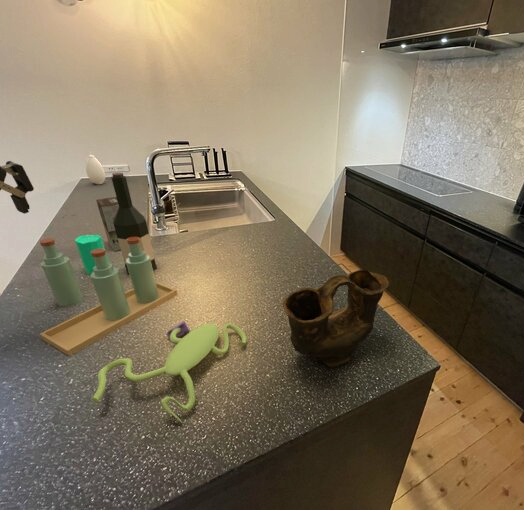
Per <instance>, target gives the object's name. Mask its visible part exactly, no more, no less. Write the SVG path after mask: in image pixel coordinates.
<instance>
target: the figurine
mask: <svg viewBox="0 0 524 510" xmlns="http://www.w3.org/2000/svg"><path fill="white" fill-rule="evenodd" d="M227 329H230V330H233V331H234V332H235V333H237V334H238V336H239V337H240V339H241V341H239V342H238V346H239V347H244V346H245V345H246V344H247V341H248V340H247V339H248V338H247V335H246V333H245V332H244V330H243V329H241V328H240V327H239V326H238V325H236V324H234V323H226V324H225V325H223V327H222V336H223V348H222V349H221V348H219V347H217V346H215V345H216V343H217V341H218V339H219V335H220V329H219V326H218V325H217V324H215V323H211V322H209V323H205V324H202V325H201V324H200V326H197V327H195V328H194V329H192V330H191V331H190V328H189V327H188V325H187V323H186V321H185V320H183V321H181V322H180V323H178V324H177V325H175V326H174V327H173V328H171V329H170V330H167V332H166V333H165V334H166V336H167V337H168V339H169V340H170V341H171V342H172V343H174V344H175V345H174V347H173V348H172V350H171V351H170V353H169V354H168V355H167V357H166V360H165V363H164V366H162V367H160V368H157V369H154V370H151V371H149V372H145V373H142V374H141V373H140V374H135V373H133V372H132V369H133V364H134V363H133V359H131V358H129V357H124V358H119V359H115V360H113V361H112V362H109V363H108V364H106V365H104V366H103V367H102V368H101V369H100V370H99V371H98V374H97V381H98V385H97V389H96V391H95V393H94V395H93V396H92V397H91V399H92V401H93V402H94V403H95V404H98V403H99V402H100V400H101V399H102V397H103V395H104V393H105V391H106V386H107V373H108V372H109V371H111V370H113V369H114V368H116V367H119V366H124V365H125V368H124V377H125V379H127V380H129V381H131V382H135V383H139V382H144V381H147V380H150V379H154V378H156V377H159V376H161V375H164V374H167V375H169V376H179V375H180V376H181V378H182V379H183V381H184V383H185V387H186V391H187V395H188V402H187V403H186V404H182V403H181V402H179V400H177V399H175V398H174V397H171V396H168V395H166V396H165V397H163V399H161V400H160V403H161V406H162V408H163V409H164V410H165V411H166V412H167V413H169V414H170V415H172V416H173V417H175V418H176V419H177V420H179V422H180V423H181V424H183V421H182V420H181V418H179V417H178V415H177V414H176V413H175V412H174V411H173V410H172V409H171V408H170V405H169V403H170V402H171V401H172V402H174V403H175V404H177V406H178V407H179V408H180V409H181V410H182V411H185V412H190V411H191V410H192V409H193V408H194V407H195V403H196V391H195V386H194V382H193V380H192V377H191V376H190V374H189V370H191V369H192V368H194V367H196V366H197V365H198V364H199V363H201V361H202V360H203V359H205V357H206V356H207V355H208V354H209V353H210V352H212V353H213V354H215V355H218V356H222V355H223V356H224V355H225V354H226V353H227V351H228V349H229V346H230V338H229V334H228V331H227ZM183 335H184V336H183ZM181 336H183V338H180V337H181Z"/></svg>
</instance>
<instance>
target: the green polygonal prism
mask: <svg viewBox="0 0 524 510" xmlns="http://www.w3.org/2000/svg"><path fill="white" fill-rule="evenodd" d="M74 242H75V244H76V248H77V250H78V253H79V256H80V259H81V262H82V265H83V267H84V270H85V273H87V274H88V275H91V273H92V272H94V271H93V268H94V267H95V266H96V264H95V261H94V258H93V257H92V256H91V253H90V252H91V251H92V250H94V249H100V248H102V249H105V245H104V242H103V239H102V236H101V235H99V234H88V233H86V234H85V235H80V236H78V237H76V239H75V240H74ZM105 250H106V249H105ZM105 255H106V259H107V262H108V263H110V261H109V258H108V255H107V253H106V254H105Z"/></svg>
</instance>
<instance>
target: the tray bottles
mask: <svg viewBox="0 0 524 510" xmlns="http://www.w3.org/2000/svg"><path fill="white" fill-rule="evenodd" d="M139 242H140V240H139V237H130V238H127V243H128V244H129V247H130V251H131V253H129V254H128V257H129V258H127V259H126V264H127V268H128V271H129V275H128V276H129V279H130V283H131V285H132V289H134V293H135V297H136V300H137V302H138V303H142V304H145V303H150V302H153V301H155V300H156V299H158V297H159V294H158V290H157V285H156V282H157V281H156V277H155V273H154V271H153V268H152V264H151V260H150V256H148V255H146V254H145V252H144V251H141V248H140V244H139ZM90 253H91V256H92V257H93V258H94V261H95V264H96V266H95V267H94V268H93V271H94V272H92V273H91V274H90V278H91V281H92V284H93V287H94V291H95V293H96V296H97V299H98V302H99V305H101V308H102V311H103V313H104V316H105V319H107V320H109V321H115V320H119V319H122V318H124V317H126V316H127V315H128V314H129V313H130V308H129V305H128V302H127V298H126V295H125V292H126V291H125V288H124V285H123V281H122V278H121V275H120V272H119V269H118V268H117V267H114V266H113V264H112V263H110V262H109V263H108V262H107V259H106V255H107V252H106V249H102V248H100V249H94V250H92V251H91V252H90ZM105 254H106V255H105Z"/></svg>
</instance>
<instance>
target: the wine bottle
mask: <svg viewBox="0 0 524 510" xmlns="http://www.w3.org/2000/svg"><path fill="white" fill-rule="evenodd" d="M111 175H112V176H111V177H110V178H111V183H112V186H113V189H114V194H115V197H117V201H118V205H119V208H118V210H117V212H116V215H115V217H114V219H113V224H114V228H115V231H116V235H117V238H118V242H119V245H120V249H121V250H120V252H121V256H122V259H123V263H124V266H125V271H126V274H127V276H130V275H129V271H128V268H127V264H126V259H127V258H129V257H128V254H129V253H131V251H130V247H129V244H128V243H127V238H130V237H139V240H140V242H139V244H140V248H141V251H144V252H145V254H146V255H148V256H150V260H151V264H152V268H153V272H155V271H156V270H157V269H158V267H157V263H156V258H155V254H154V250H153V246H152V240H151V237H150V233H149V227H148V224H147V219H146V217H145V216H144V215H143V214H142V213H141V212H140V211H139V210H138V209H137V208H136V207H135V206H134V205H133V202H132V198H131V192H130V189H129V185H128V181H127V177H126V175H124V173H123V172H114V173H112V174H111Z"/></svg>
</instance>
